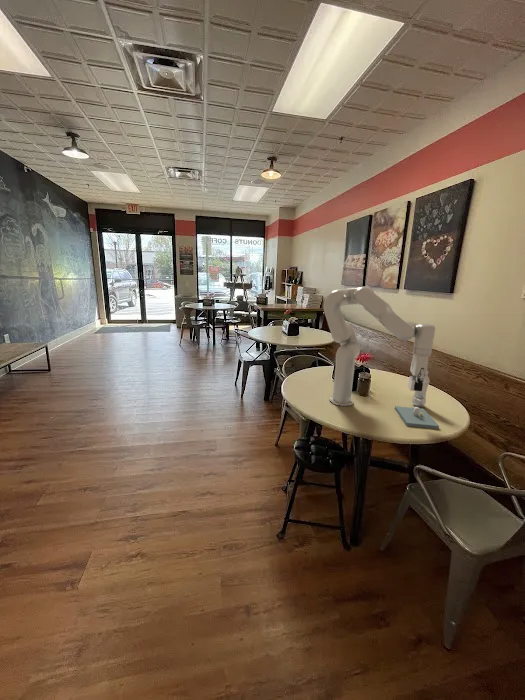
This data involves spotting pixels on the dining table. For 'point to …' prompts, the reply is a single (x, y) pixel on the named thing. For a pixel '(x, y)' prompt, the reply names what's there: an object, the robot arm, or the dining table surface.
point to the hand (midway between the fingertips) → (416, 387)
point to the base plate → (416, 417)
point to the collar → (412, 383)
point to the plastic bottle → (421, 394)
